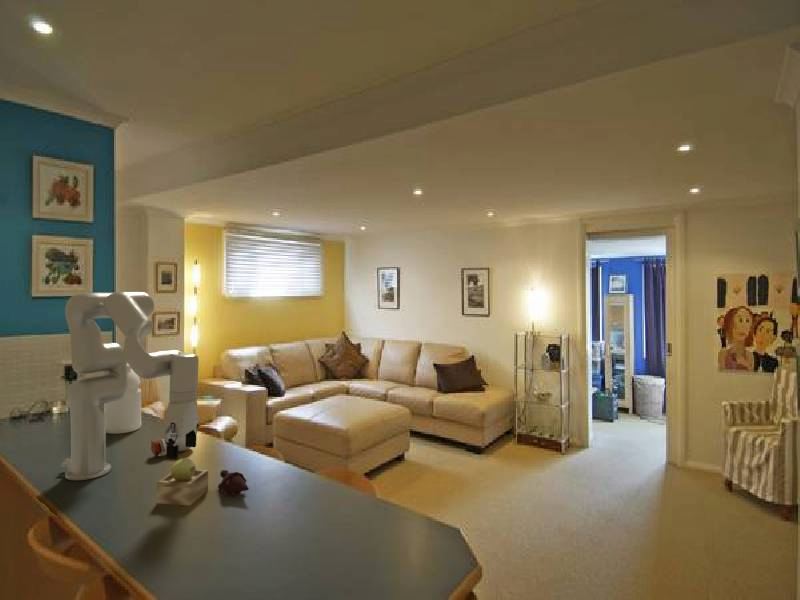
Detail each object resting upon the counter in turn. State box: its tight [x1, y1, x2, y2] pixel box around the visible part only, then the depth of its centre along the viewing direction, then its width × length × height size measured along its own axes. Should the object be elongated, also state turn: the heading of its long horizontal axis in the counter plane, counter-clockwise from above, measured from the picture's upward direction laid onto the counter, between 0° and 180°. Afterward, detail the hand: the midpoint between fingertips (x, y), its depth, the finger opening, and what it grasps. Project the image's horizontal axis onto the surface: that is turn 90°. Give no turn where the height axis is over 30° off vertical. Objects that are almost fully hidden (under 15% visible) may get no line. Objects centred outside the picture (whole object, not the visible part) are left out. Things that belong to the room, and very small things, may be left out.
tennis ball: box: [170, 457, 196, 482], centre depth 136 cm, size 6×7×7 cm
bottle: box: [103, 363, 142, 435], centre depth 198 cm, size 14×14×28 cm
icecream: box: [217, 469, 250, 497], centre depth 138 cm, size 7×7×15 cm
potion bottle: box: [150, 433, 192, 458], centre depth 172 cm, size 9×10×15 cm
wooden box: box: [156, 469, 209, 506], centre depth 136 cm, size 10×10×6 cm
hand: (181, 452), depth 136 cm, fingers open, 9 cm apart
